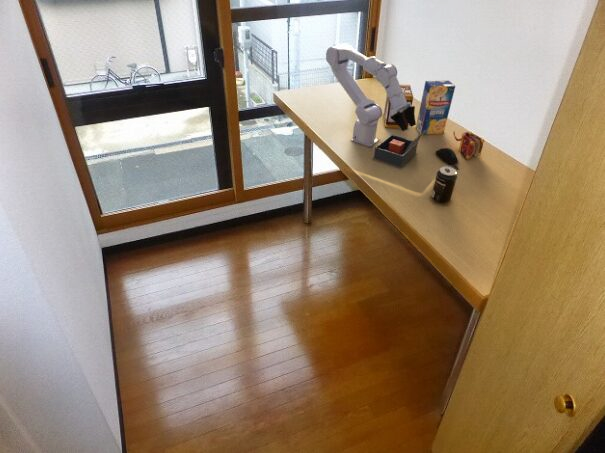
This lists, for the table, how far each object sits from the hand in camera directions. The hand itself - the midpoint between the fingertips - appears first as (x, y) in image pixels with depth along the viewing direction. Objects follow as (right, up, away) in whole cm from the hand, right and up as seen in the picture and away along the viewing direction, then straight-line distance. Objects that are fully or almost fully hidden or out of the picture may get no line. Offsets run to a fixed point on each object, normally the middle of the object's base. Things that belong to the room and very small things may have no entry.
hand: (409, 127), depth 169 cm
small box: (-4, -10, +8) cm, 13 cm away
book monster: (+26, -8, +12) cm, 29 cm away
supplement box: (+2, +11, +36) cm, 38 cm away
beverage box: (+17, +5, +29) cm, 34 cm away
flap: (+2, -6, 0) cm, 6 cm away
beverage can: (+7, -30, -16) cm, 34 cm away
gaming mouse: (+18, -12, +8) cm, 23 cm away
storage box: (-4, -10, +9) cm, 14 cm away
